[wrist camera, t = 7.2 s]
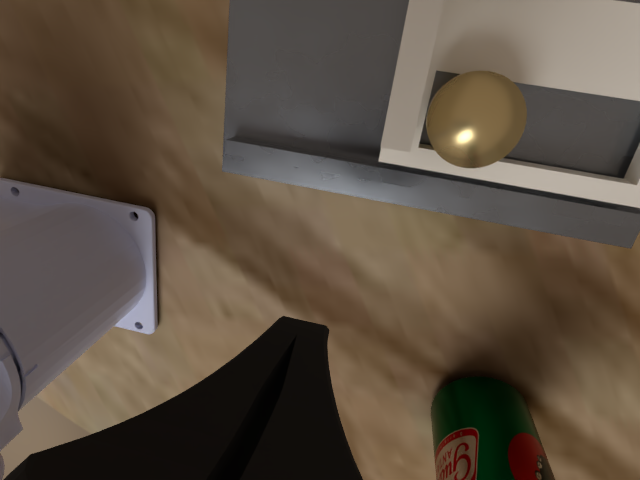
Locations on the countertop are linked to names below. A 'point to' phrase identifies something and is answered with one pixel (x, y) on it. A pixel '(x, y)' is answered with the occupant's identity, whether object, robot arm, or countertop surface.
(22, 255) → the robot arm
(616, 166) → the boss plate
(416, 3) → the panel
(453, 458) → the soda can
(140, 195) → the countertop surface
